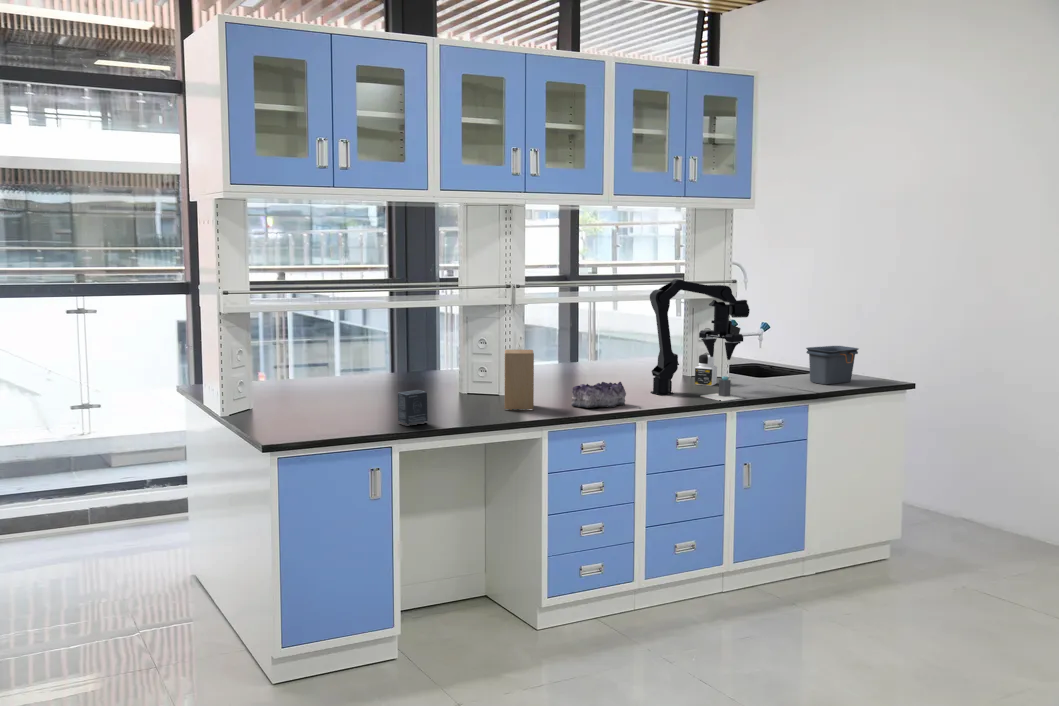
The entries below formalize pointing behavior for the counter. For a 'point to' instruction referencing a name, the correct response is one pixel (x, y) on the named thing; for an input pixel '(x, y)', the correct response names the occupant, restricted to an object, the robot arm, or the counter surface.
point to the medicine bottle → (706, 371)
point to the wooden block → (519, 379)
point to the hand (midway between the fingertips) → (720, 358)
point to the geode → (598, 395)
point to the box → (412, 406)
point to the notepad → (717, 397)
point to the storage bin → (831, 364)
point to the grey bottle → (724, 386)
